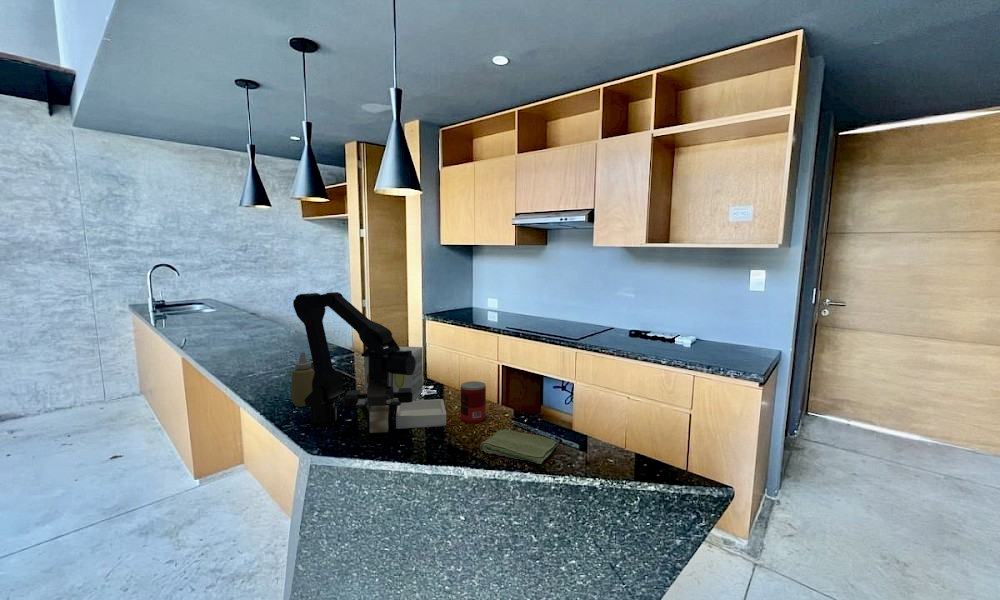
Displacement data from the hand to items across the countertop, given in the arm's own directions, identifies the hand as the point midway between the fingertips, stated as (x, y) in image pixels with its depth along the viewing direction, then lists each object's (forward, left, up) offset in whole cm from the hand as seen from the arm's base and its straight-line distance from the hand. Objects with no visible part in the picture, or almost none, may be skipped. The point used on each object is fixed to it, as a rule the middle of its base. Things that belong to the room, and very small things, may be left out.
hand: (379, 425), depth 118 cm
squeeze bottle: (-27, +28, -2) cm, 39 cm away
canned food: (+28, +5, -2) cm, 28 cm away
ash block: (0, 0, -1) cm, 1 cm away
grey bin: (+12, +8, -2) cm, 14 cm away
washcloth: (+37, -19, -2) cm, 41 cm away
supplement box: (+3, +30, -2) cm, 30 cm away
